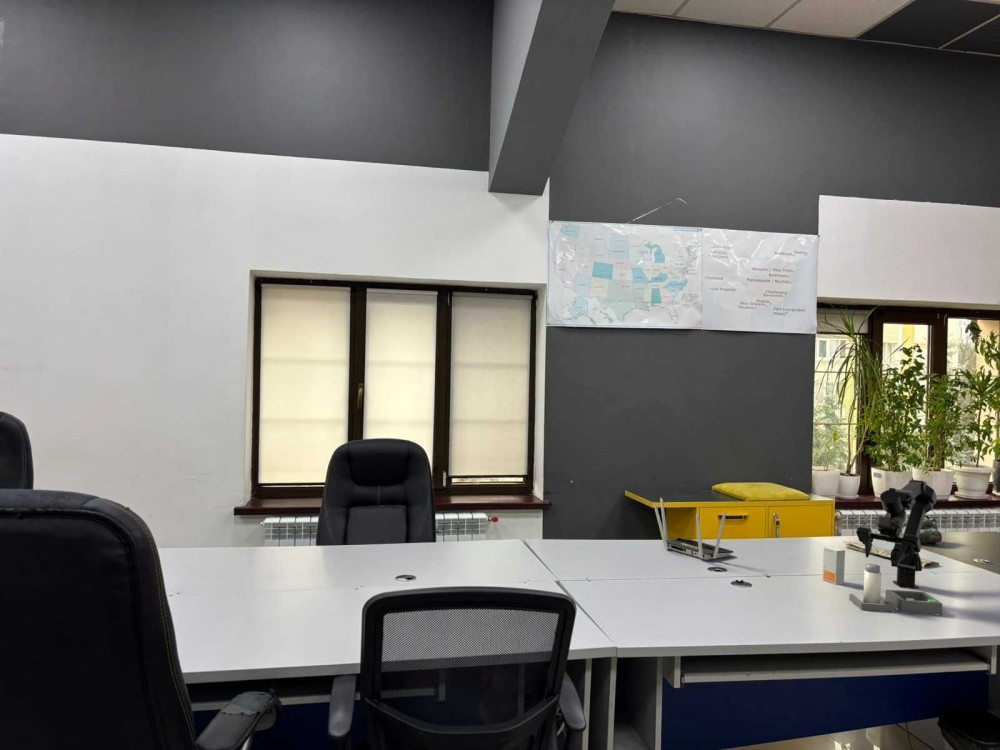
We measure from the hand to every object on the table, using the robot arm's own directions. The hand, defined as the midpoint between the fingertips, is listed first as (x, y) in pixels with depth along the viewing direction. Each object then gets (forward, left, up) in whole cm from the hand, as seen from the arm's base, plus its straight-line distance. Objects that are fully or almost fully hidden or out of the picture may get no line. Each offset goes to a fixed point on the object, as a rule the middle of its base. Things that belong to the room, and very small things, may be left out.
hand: (881, 559), depth 237 cm
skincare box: (-20, -8, -14) cm, 25 cm away
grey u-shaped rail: (+6, -5, -13) cm, 16 cm away
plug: (+6, -5, -13) cm, 16 cm away
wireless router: (-50, -53, -14) cm, 74 cm away
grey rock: (-94, +55, -14) cm, 110 cm away
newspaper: (-64, +28, -14) cm, 71 cm away
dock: (+5, +8, -13) cm, 16 cm away
